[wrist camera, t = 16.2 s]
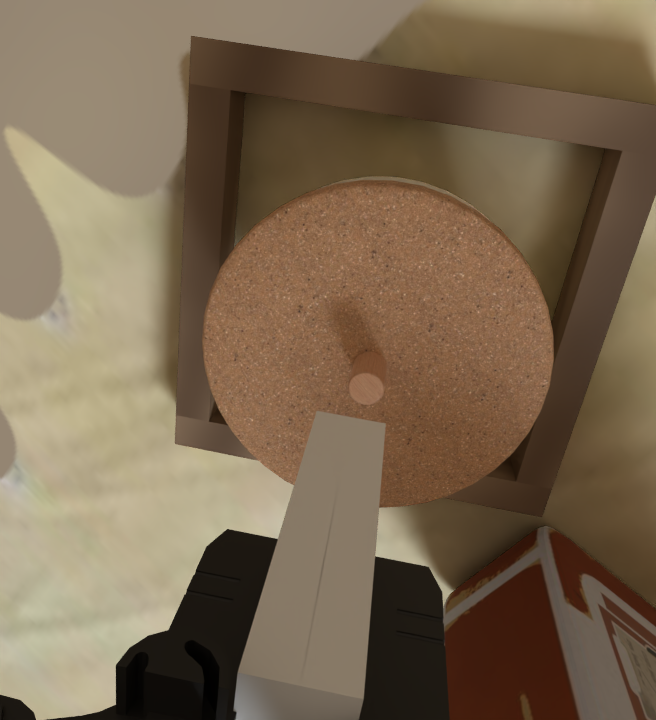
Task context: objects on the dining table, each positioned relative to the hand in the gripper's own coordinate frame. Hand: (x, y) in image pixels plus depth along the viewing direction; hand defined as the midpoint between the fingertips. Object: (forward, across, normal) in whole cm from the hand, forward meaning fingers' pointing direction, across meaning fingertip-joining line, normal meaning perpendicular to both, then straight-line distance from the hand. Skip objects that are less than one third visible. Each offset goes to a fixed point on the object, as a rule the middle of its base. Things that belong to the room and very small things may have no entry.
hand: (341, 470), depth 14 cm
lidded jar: (+14, 0, 0) cm, 14 cm away
